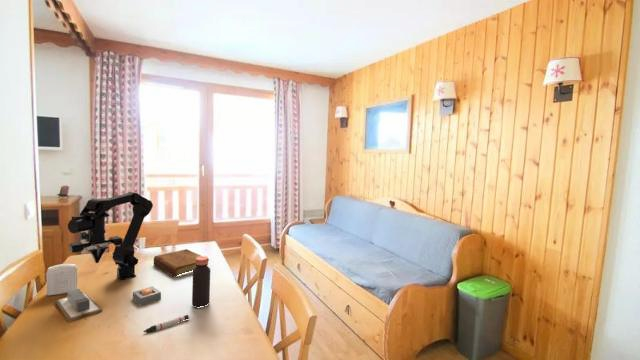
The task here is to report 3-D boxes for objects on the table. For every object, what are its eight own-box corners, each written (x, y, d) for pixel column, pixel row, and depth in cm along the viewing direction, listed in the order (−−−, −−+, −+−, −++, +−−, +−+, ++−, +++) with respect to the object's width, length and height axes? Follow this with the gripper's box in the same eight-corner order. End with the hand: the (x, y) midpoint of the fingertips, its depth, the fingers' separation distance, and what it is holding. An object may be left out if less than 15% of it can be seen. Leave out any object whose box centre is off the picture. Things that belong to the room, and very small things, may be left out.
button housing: (152, 292, 137) (152, 286, 137) (160, 299, 132) (160, 292, 132) (132, 298, 131) (132, 292, 131) (140, 305, 126) (140, 298, 126)
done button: (149, 293, 134) (149, 287, 134) (153, 296, 132) (153, 290, 132) (139, 296, 131) (139, 290, 131) (143, 299, 129) (143, 293, 129)
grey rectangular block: (78, 296, 128) (78, 288, 127) (89, 308, 119) (89, 299, 119) (67, 299, 125) (67, 291, 125) (77, 312, 116) (77, 303, 116)
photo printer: (78, 288, 138) (77, 261, 137) (77, 292, 134) (76, 264, 133) (47, 292, 132) (47, 264, 131) (45, 297, 128) (45, 268, 127)
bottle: (190, 309, 125) (192, 261, 124) (193, 301, 132) (194, 255, 130) (208, 308, 127) (210, 260, 126) (209, 300, 134) (211, 255, 132)
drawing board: (85, 294, 132) (85, 292, 132) (101, 311, 120) (101, 308, 120) (55, 302, 124) (55, 300, 124) (69, 321, 112) (69, 318, 112)
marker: (186, 318, 119) (186, 313, 119) (188, 321, 118) (188, 316, 117) (142, 333, 108) (142, 327, 108) (143, 336, 107) (144, 330, 107)
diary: (153, 266, 169) (153, 256, 168) (186, 258, 183) (186, 249, 183) (175, 278, 155) (175, 267, 154) (208, 268, 170) (208, 258, 169)
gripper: (114, 221, 148) (114, 253, 149) (64, 227, 133) (65, 263, 134) (123, 226, 141) (123, 259, 142) (72, 233, 126) (72, 270, 128)
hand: (96, 262), depth 137 cm, fingers closed
